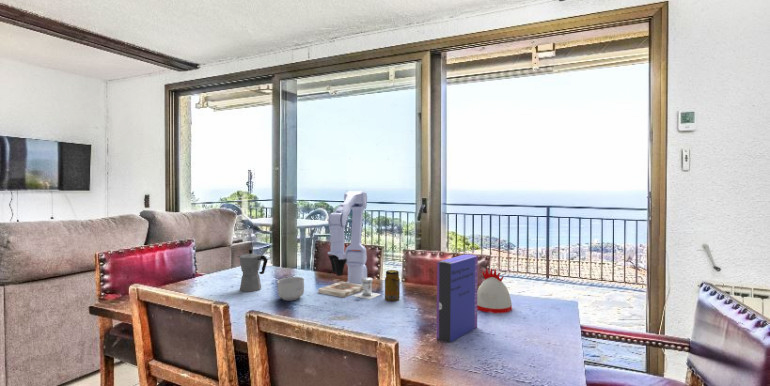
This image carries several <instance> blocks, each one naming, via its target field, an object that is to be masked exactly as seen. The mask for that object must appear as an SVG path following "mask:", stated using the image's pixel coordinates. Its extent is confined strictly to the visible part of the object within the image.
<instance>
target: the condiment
mask: <svg viewBox="0 0 770 386" xmlns="http://www.w3.org/2000/svg"><path fill="white" fill-rule="evenodd" d="M399 273H400V272H399V271H398V270H395V269H390V270H389V269H388V270H386V271H385V277H384V300H385V301H387V302H398V301H399V300H400V297H401V296H400V295H401V294H400V288H401V287H400V284H401V282H400V281H401V280H400V279H401V278H400V276H399Z"/></svg>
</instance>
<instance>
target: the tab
mask: <svg viewBox="0 0 770 386" xmlns="http://www.w3.org/2000/svg"><path fill="white" fill-rule="evenodd" d="M379 296H382V293H376V292H372V295H371V296H362V291H360V292H357V293H355V294H352V297H356V298H361V299H366V300H372V299H374V298H377V297H379Z"/></svg>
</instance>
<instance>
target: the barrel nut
mask: <svg viewBox="0 0 770 386" xmlns="http://www.w3.org/2000/svg"><path fill="white" fill-rule="evenodd" d="M373 280H374V279H373V277H370V276H367V277H364V278H361V281H362V284H361V285H362V291H361V292H362V296H371V295H372V293H373V288H372V287H373V286H372V285H373Z"/></svg>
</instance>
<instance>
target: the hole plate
mask: <svg viewBox="0 0 770 386" xmlns="http://www.w3.org/2000/svg"><path fill="white" fill-rule="evenodd" d="M317 291H318V293H319V294H324V295H329V296H334V297H335V296H336V297H340V298H346V297H349V296H353V295H356V294H358V293H361V292H362V284H361V285H360V284H354V283H348V281H339V282H335V283H332V284H330V285H329V284H328V285H326V286H324V287H319V288H318V289H317Z"/></svg>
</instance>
